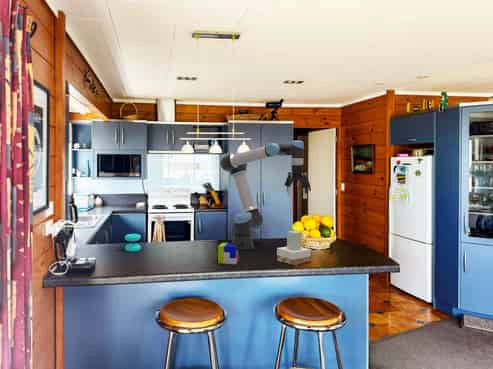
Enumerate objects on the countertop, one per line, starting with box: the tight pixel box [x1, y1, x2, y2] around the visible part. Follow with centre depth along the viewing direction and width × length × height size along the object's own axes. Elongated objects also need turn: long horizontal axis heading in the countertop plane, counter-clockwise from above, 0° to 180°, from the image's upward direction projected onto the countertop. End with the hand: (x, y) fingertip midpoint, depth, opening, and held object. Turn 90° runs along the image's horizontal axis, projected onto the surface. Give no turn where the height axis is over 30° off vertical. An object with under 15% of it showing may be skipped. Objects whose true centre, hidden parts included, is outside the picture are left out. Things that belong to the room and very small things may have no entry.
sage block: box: [286, 230, 303, 251], centre depth 240 cm, size 6×6×10 cm
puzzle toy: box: [217, 242, 240, 265], centre depth 239 cm, size 10×10×10 cm
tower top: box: [276, 246, 312, 260], centre depth 241 cm, size 14×14×4 cm
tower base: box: [276, 254, 312, 266], centre depth 242 cm, size 14×14×4 cm
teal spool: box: [124, 233, 142, 252], centre depth 266 cm, size 10×10×10 cm
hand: (296, 197), depth 267 cm, fingers open, 13 cm apart
